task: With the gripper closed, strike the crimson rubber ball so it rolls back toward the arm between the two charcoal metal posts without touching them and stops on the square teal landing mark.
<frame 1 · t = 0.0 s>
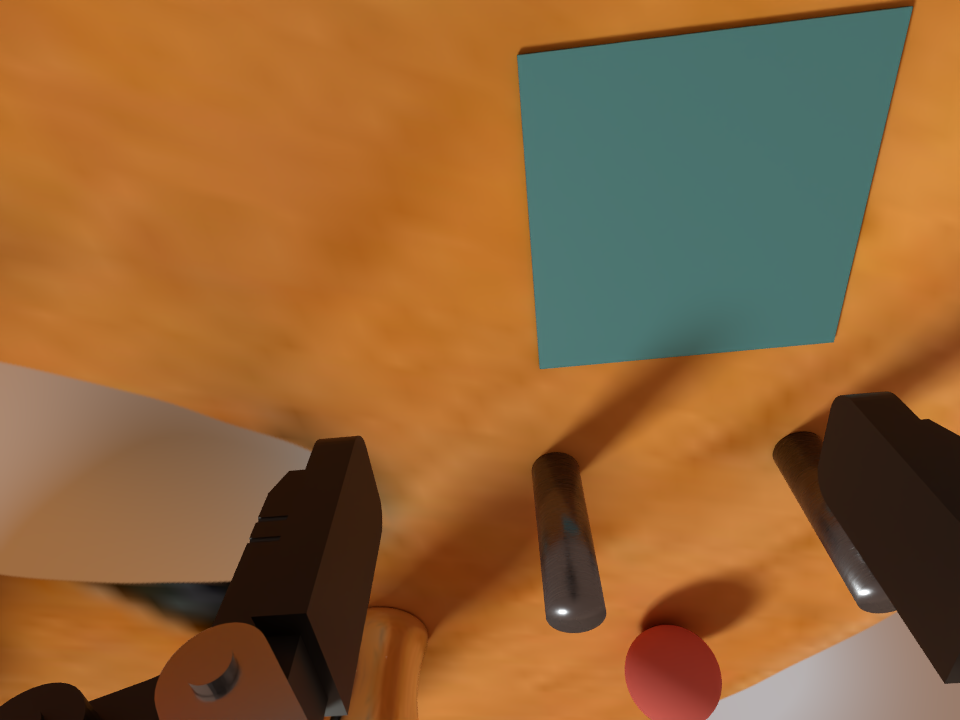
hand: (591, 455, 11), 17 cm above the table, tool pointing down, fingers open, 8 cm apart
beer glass: (384, 630, 43), on the table
landing mark: (694, 215, 26), on the table
ball: (672, 674, 40), on the table
post 1: (555, 470, 34), on the table
post 2: (797, 450, 33), on the table
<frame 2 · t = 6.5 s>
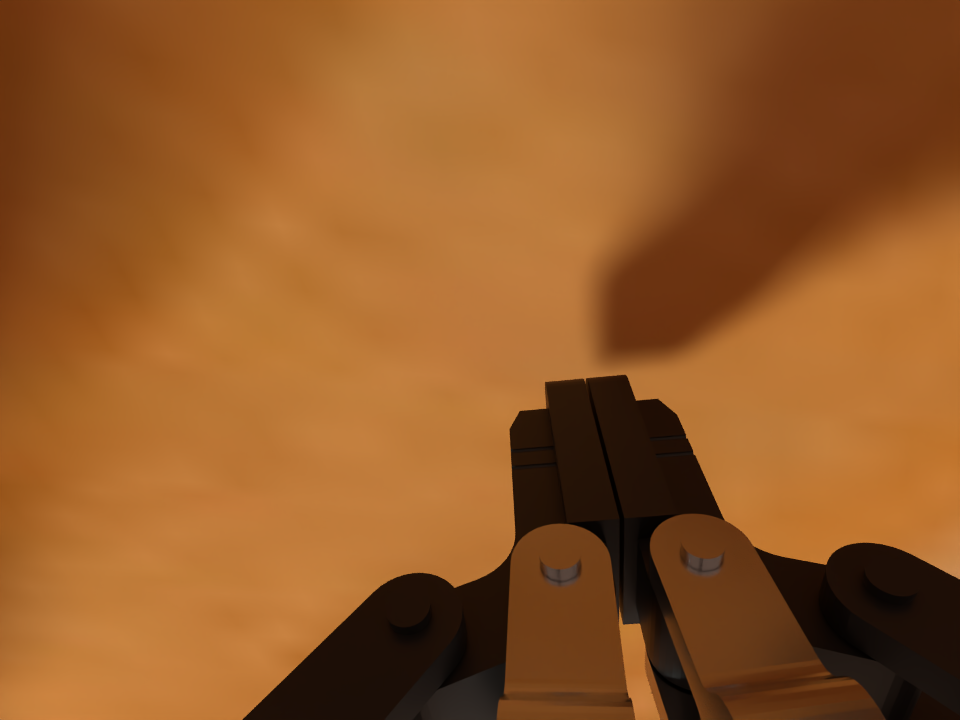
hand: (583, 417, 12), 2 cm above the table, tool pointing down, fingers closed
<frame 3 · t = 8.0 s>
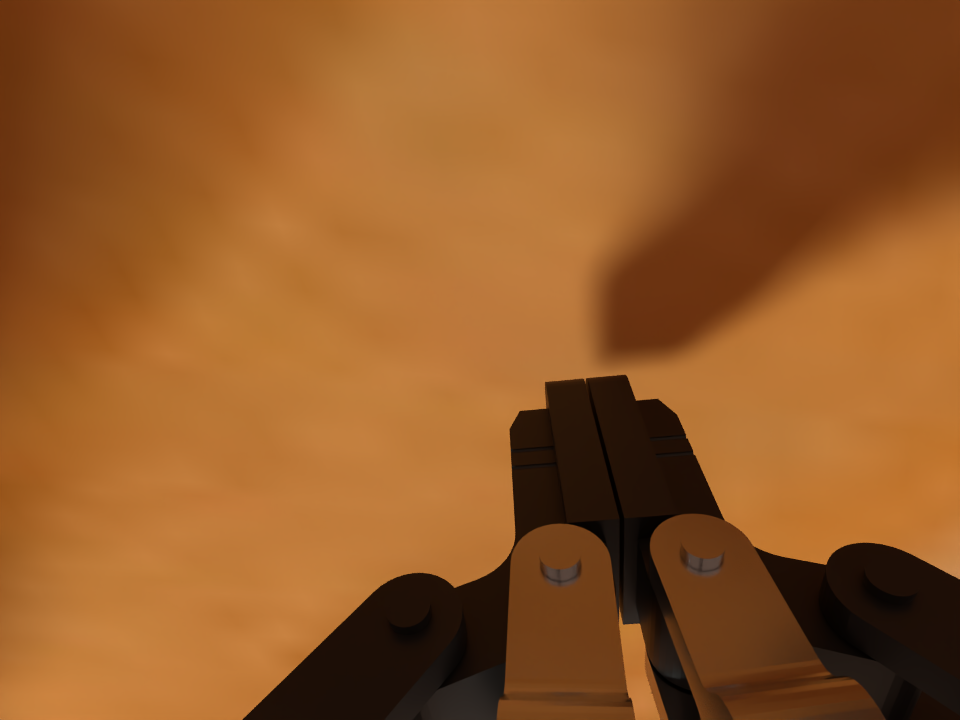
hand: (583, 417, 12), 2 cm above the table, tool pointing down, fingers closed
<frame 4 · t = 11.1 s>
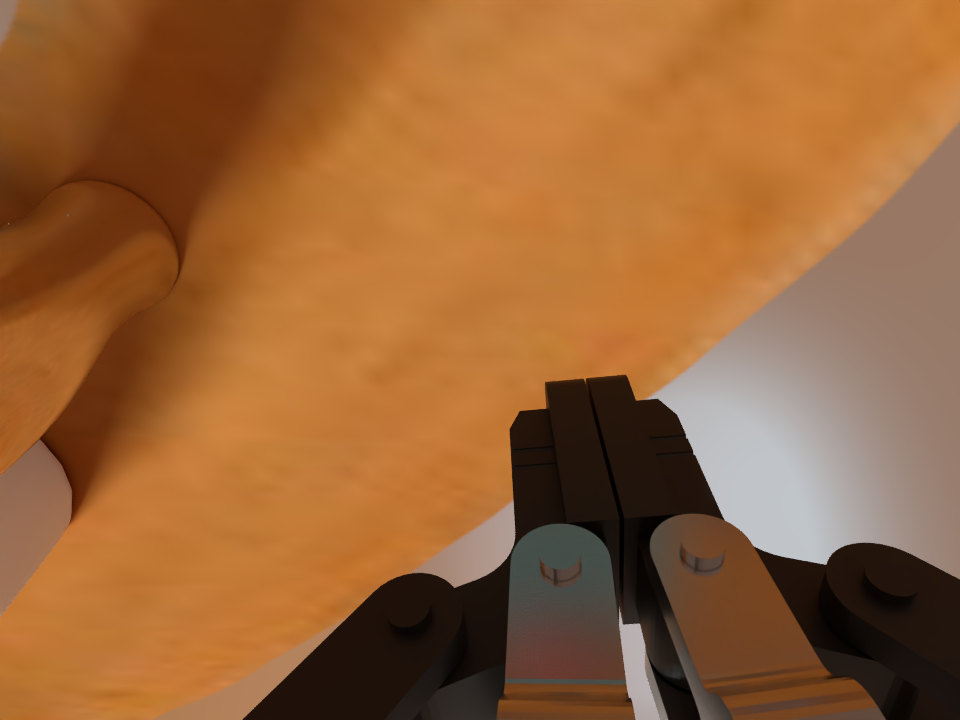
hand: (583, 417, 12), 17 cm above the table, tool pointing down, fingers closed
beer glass: (113, 245, 28), on the table
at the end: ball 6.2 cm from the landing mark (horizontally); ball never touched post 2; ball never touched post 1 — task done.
